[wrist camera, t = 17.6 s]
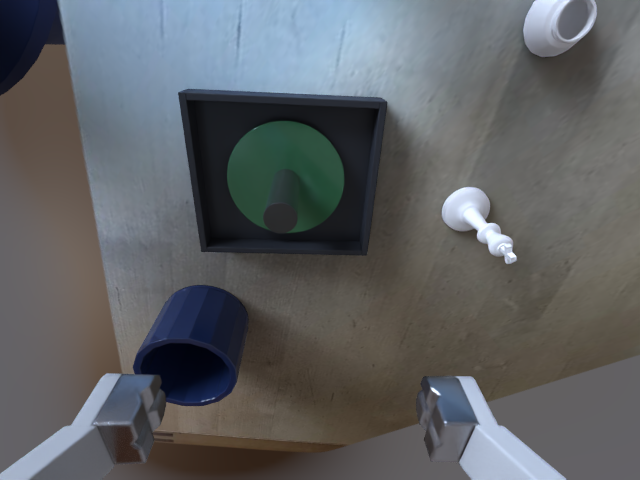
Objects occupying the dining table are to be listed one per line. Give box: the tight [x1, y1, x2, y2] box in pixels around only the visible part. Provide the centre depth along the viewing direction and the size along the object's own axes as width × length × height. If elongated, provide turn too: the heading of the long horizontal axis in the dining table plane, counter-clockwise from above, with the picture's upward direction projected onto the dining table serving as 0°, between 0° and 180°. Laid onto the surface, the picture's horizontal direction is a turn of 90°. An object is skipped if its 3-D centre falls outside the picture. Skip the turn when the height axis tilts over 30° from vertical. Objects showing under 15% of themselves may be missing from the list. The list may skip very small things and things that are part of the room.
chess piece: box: [442, 187, 517, 264], centre depth 32 cm, size 5×5×10 cm
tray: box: [178, 89, 387, 255], centre depth 33 cm, size 17×15×3 cm
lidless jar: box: [523, 0, 597, 57], centre depth 27 cm, size 5×3×5 cm
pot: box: [133, 285, 249, 406], centre depth 39 cm, size 10×10×8 cm
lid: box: [227, 120, 344, 233], centre depth 30 cm, size 11×11×9 cm
